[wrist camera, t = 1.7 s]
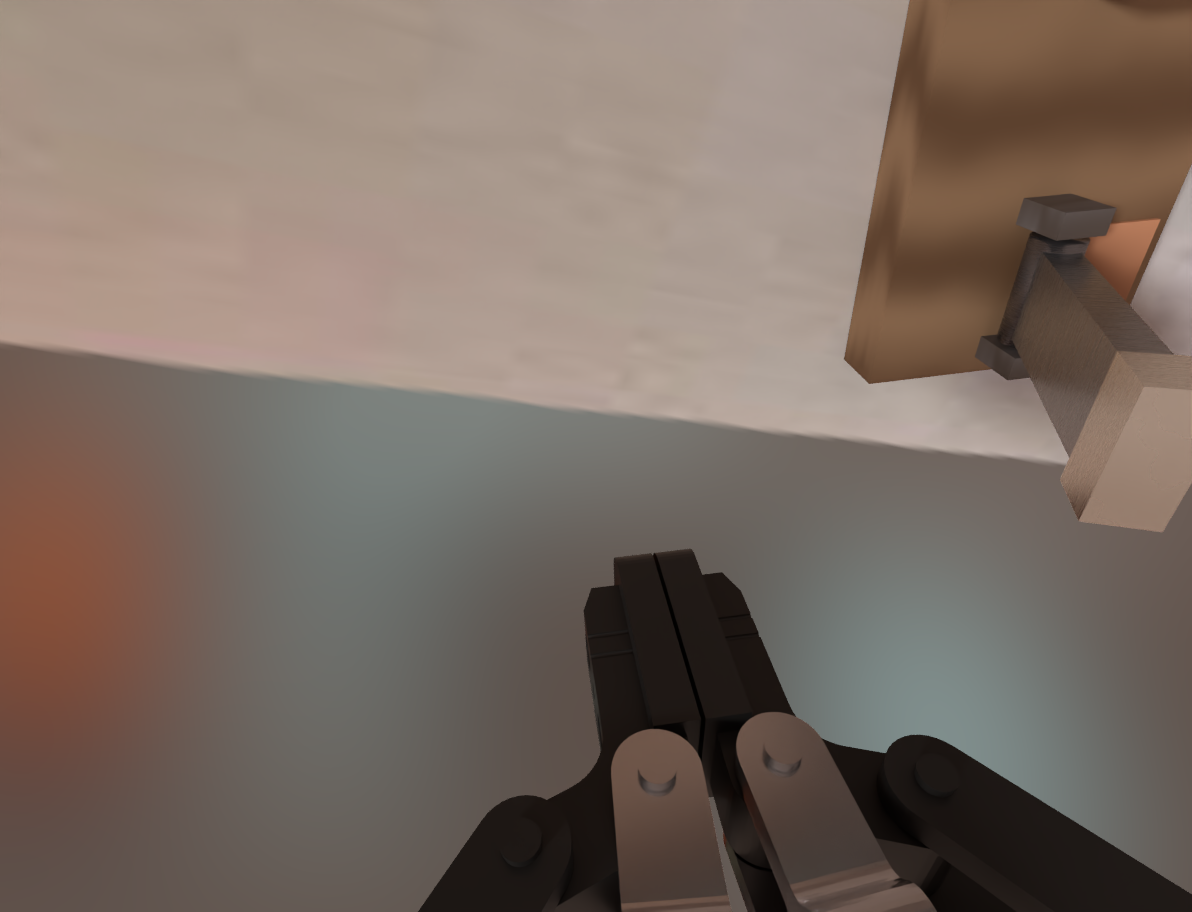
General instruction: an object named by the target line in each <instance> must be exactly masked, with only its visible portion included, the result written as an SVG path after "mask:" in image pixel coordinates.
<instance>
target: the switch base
mask: <svg viewBox="0 0 1192 912" xmlns="http://www.w3.org/2000/svg"><path fill="white" fill-rule="evenodd" d="M1191 164H1192V0H910V2H909V8H908V13H907V19H906V24H905V30H904V35H903V40H902V46H901V51H900V57H899V62H898V68H897V73H896V79H895V84H894V90H893V95H892V101H891V106H890V112H889V117H888V122H887V128H886V133H885V139H884V144H883V150H882V155H881V161H880V166H879V172H878V177H877V183H876V188H875V194H874V199H873V204H872V210H871V215H870V221H869V226H868V232H867V237H866V243H865V248H864V254H863V259H862V265H861V270H860V276H859V281H858V286H857V292H856V297H855V303H854V308H853V314H852V319H851V325H850V330H849V336H848V341H847V347H846V352H845V358H844V360H845V361H846V362H847V363H848V364H849V365H850V366H851V367H853V368H854V369H855V370H856V371H857V372H858V373H859V374H860V375H861V376H862V377H863V378H864V379H865V380H866V381H867V382H868V383H869V384H872V383H881V382H889V381H897V380H905V379H914V378H922V377H930V376H939V375H947V374H955V373H963V372H972V371H980V370H988V369H993V370H994V371H995V372H997V373H998V374H1000V375H1001V376H1003V377H1004V378H1005V379H1007V380H1013V379H1021V378H1029V377H1030V376H1029V374H1028V372H1027V370H1026V368H1025V366H1024V364H1023V362H1022V360H1021V357H1020V355H1019V353H1018V351H1017V349H1015V348H1012V347H1009V346H1006V345H1004V344H1002V343H1001V342H999V341H998V340H997V334H998V330H999V327H1000V324H1001V321H1002V318H1003V315H1004V312H1005V309H1006V306H1007V303H1008V300H1009V296H1010V293H1011V290H1012V287H1013V284H1014V281H1015V278H1016V275H1017V272H1018V269H1019V266H1020V263H1021V259H1022V256H1023V253H1024V250H1025V247H1026V244H1027V241H1028V238H1029V235H1030V233H1031V232H1036V233H1038V234H1041V235H1043V236H1046V237H1048V238H1051V239H1053V240H1056V241H1059V240H1069V239H1078V238H1088V237H1089V238H1090V243H1089V245H1088V248H1087V251H1086V253H1085V257H1086V258H1087V259H1088V260H1089V261H1090V262H1091V264H1092V265H1093V266H1094V267H1095V268H1096V269H1097V270H1098V271H1099V272H1100V273H1101V275H1102V276H1103V277H1104V278H1105V279H1106V280H1107V281H1108V282H1109V283H1110V284H1111V286H1112V287H1113V288H1114V289H1115V290H1116V291H1117V292H1118V293H1119V294H1120V296H1121V297H1122V298H1123V299H1124V300H1125V301H1126V302H1127V303H1128V304H1129V305H1130V303H1131V301H1132V299H1133V297H1134V294H1135V292H1136V290H1137V287H1138V285H1139V283H1140V281H1141V278H1142V276H1143V274H1144V272H1145V269H1146V267H1147V265H1148V262H1149V260H1150V258H1151V256H1152V253H1153V251H1154V249H1155V246H1156V244H1157V242H1158V240H1159V237H1160V235H1161V233H1162V230H1163V228H1164V226H1165V224H1166V221H1167V219H1168V217H1169V214H1170V212H1171V210H1172V208H1173V205H1174V203H1175V201H1176V198H1177V196H1178V194H1179V192H1180V189H1181V187H1182V185H1183V182H1184V180H1185V178H1186V176H1187V173H1188V171H1189V169H1190V166H1191Z"/></svg>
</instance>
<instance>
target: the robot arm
mask: <svg viewBox="0 0 1192 912" xmlns="http://www.w3.org/2000/svg"><path fill="white" fill-rule="evenodd" d="M584 620H585V636H586V650H587V662H588V669H589V677H590V683H591V690H592V697H593V704H594V711H595V717H596V724H597V731H598V738H599V744H600V752H601V753H600V756H599V758H598V760H597V763H596V764H595V766H594V768H593V769H592V770H591V771H590V773H589V774H588V775H587V776H586V777H585V778H584V779H582V780H581V781H580V782H579V783H577V784H576V785H574V786H573V787H571V788H569V789H567V790H565V791H563V792H562V793H559V794H558V795H556V796H554V797H552V798H550V799H548V800H545V799H543V798H541V797H537V796H529V795H524V796H517V797H513V798H509V799H508V800H505V801H503V802H501V803H500V804H498V805H497V806H495V807H494V808H493V809H492V810H491V811H490V812H488V813H487V815H486V816H485V817H484V818H483V820H482V821H481V822H480V824H479V825H478V827H477V828H476V830H475V831H474V832H473V834H472V835H471V837H470V838H469V840H468V841H467V842H466V844H465V845H464V847H463V848H462V850H461V851H460V853H459V854H458V855H457V857H456V858H455V860H454V861H453V862H452V864H451V865H450V867H449V868H448V870H447V871H446V872H445V874H444V875H443V877H442V878H441V880H440V881H439V883H438V884H437V885H436V887H435V888H434V890H433V891H432V893H431V894H430V895H429V897H428V898H427V900H426V901H425V903H424V904H423V905H422V907H421V908H420V910H419V911H418V912H732V909H731V906H730V902H729V897H728V892H727V887H726V882H725V877H724V872H723V867H722V862H721V857H720V852H719V847H718V842H717V837H716V832H715V827H714V822H713V816H712V811H711V807H710V801H709V797H714V800H715V803H716V807H717V810H718V814H719V817H720V821H721V825H722V828H723V842H724V845H725V849H726V852H727V854H728V857H729V860H730V863H731V866H732V869H733V872H734V875H735V878H736V880H737V883H738V886H739V889H740V892H741V895H742V898H743V900H744V903H745V906H746V909H747V912H1192V894H1190V893H1189V892H1187V891H1185V890H1184V889H1182V888H1181V887H1179V886H1177V885H1175V884H1174V883H1173V882H1171V881H1169V880H1168V879H1166V878H1164V877H1163V876H1161V875H1160V874H1158V873H1156V872H1155V871H1153V870H1152V869H1150V868H1148V867H1147V866H1145V865H1144V864H1142V863H1140V862H1139V861H1137V860H1135V859H1134V858H1132V857H1131V856H1129V855H1127V854H1126V853H1124V852H1123V851H1121V850H1119V849H1118V848H1116V847H1115V846H1113V845H1111V844H1110V843H1108V842H1106V841H1105V840H1103V839H1102V838H1100V837H1098V836H1097V835H1095V834H1094V833H1092V832H1090V831H1089V830H1087V829H1086V828H1084V827H1082V826H1081V825H1079V824H1078V823H1076V822H1074V821H1073V820H1071V819H1070V818H1068V817H1066V816H1064V815H1063V814H1061V813H1060V812H1058V811H1057V810H1055V809H1053V808H1052V807H1050V806H1048V805H1047V804H1045V803H1043V802H1042V801H1041V800H1039V799H1037V798H1036V797H1034V796H1033V795H1031V794H1029V793H1028V792H1026V791H1024V790H1023V789H1021V788H1020V787H1018V786H1016V785H1015V784H1013V783H1012V782H1010V781H1008V780H1007V779H1005V778H1003V777H1002V776H1000V775H999V774H997V773H995V772H994V771H992V770H991V769H989V768H987V767H986V766H984V765H983V764H981V763H979V762H978V761H976V760H975V759H973V758H971V757H970V756H968V755H967V754H965V753H963V752H962V751H960V750H958V749H957V748H955V747H953V746H952V745H950V744H948V743H946V742H944V741H942V740H939V739H937V738H934V737H930V736H925V735H909V736H904V737H902V738H900V739H898V740H896V741H895V742H894V743H892V745H891V746H890V747H889V748H888V750H887V752H886V753H880V752H875V751H869V750H863V749H857V748H852V747H846V746H841V745H837V744H834V743H831V742H829V741H826V740H824V739H822V738H821V737H820V736H819V734H818V733H817V732H816V731H815V730H814V729H813V728H812V727H811V726H809V724H807V723H805V722H804V721H803V720H801V719H799V718H797V717H796V716H795V714H794V713H793V711H792V709H791V707H790V705H789V703H788V701H787V698H786V696H785V694H784V692H783V689H782V687H781V684H780V682H779V680H778V677H777V675H776V673H775V671H774V668H773V666H772V663H771V661H770V658H769V656H768V654H767V651H766V649H765V647H764V645H763V642H762V640H761V637H759V635H758V630H757V628H756V625H755V623H754V621H753V619H752V618H751V615H750V611H749V609H748V607H747V604H746V602H745V600H744V597H743V595H742V593H741V591H740V590H739V589H738V588H737V587H736V586H735V585H734V584H733V583H732V582H731V581H730V580H729V579H728V578H727V577H726V576H725V575H724V574H723V573H713V574H705V575H702V573H701V571H700V568H699V565H698V562H697V560H696V557H695V555H694V552H693V551H692V549H684V550H676V551H667V552H660V553H654V554H653V555H652V554H651V553H649V554H641V555H632V556H624V557H616V558H614V586H607V587H598V588H592V589H591V591H590V594H589V597H588V600H587V603H586V606H585V609H584Z"/></svg>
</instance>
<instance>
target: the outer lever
mask: <svg viewBox="0 0 1192 912" xmlns="http://www.w3.org/2000/svg"><path fill="white" fill-rule="evenodd" d="M1089 243H1090V238H1089V237H1088V238H1078V239H1069V240H1059V241H1056V240H1053V239H1051V238H1048V237H1046V236H1043V235H1041V234H1038V233H1036V232H1031V233H1030V235H1029V238H1028V241H1027V244H1026V247H1025V250H1024V253H1023V256H1022V259H1021V263H1020V266H1019V269H1018V272H1017V275H1016V278H1015V281H1014V284H1013V287H1012V290H1011V293H1010V296H1009V300H1008V303H1007V306H1006V309H1005V312H1004V315H1003V318H1002V321H1001V324H1000V327H999V330H998V334H997V340H998V341H999V342H1001V343H1002V344H1004V345H1006V346H1009V347H1012V348H1015V349H1017V351H1018V353H1019V355H1020V357H1021V360H1022V362H1023V364H1024V366H1025V368H1026V370H1027V372H1028V374H1029V376H1030V378H1031V380H1032V382H1033V384H1034V386H1035V388H1036V390H1037V392H1038V394H1039V396H1040V399H1041V401H1042V403H1043V405H1044V407H1045V409H1046V411H1047V413H1048V415H1049V417H1050V419H1051V421H1052V423H1053V425H1054V427H1055V429H1056V431H1057V433H1058V435H1059V437H1060V440H1061V442H1062V444H1063V446H1064V448H1065V450H1066V452H1067V454H1068V456H1069V460H1068V463H1067V465H1066V467H1065V469H1064V471H1063V474H1062V476H1061V479H1060V481H1061V483H1062V485H1063V487H1064V490H1065V492H1066V494H1067V497H1068V498H1069V501H1070V503H1071V506H1072V508H1073V510H1074V512H1075V514H1076V516H1077V519H1078V521H1080V522H1088V523H1096V524H1103V525H1111V526H1119V527H1126V528H1134V529H1142V530H1149V531H1157V532H1163V531H1164V529H1165V527H1166V525H1167V524H1168V522H1169V520H1170V519H1171V517H1172V515H1173V514H1174V512H1175V510H1176V509H1177V507H1178V505H1179V504H1180V502H1181V500H1182V498H1183V497H1184V495H1185V493H1186V492H1187V490H1188V488H1189V487H1190V485H1191V483H1192V356H1183V355H1174V354H1173V353H1172V352H1171V351H1170V350H1169V349H1168V347H1167V346H1166V345H1165V344H1164V343H1163V342H1162V341H1161V340H1160V339H1159V337H1158V336H1157V335H1156V334H1155V333H1154V332H1153V331H1152V330H1151V329H1150V328H1149V326H1148V325H1147V324H1146V323H1145V322H1144V321H1143V320H1142V319H1141V318H1140V317H1139V315H1138V314H1137V313H1136V312H1135V311H1134V310H1133V309H1132V308H1131V307H1130V305H1129V304H1128V303H1127V302H1126V301H1125V300H1124V299H1123V298H1122V297H1121V296H1120V294H1119V293H1118V292H1117V291H1116V290H1115V289H1114V288H1113V287H1112V286H1111V284H1110V283H1109V282H1108V281H1107V280H1106V279H1105V278H1104V277H1103V276H1102V275H1101V273H1100V272H1099V271H1098V270H1097V269H1096V268H1095V267H1094V266H1093V265H1092V264H1091V262H1090V261H1089V260H1088V259H1087V258H1086V257H1085V253H1086V251H1087V248H1088V245H1089Z"/></svg>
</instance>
